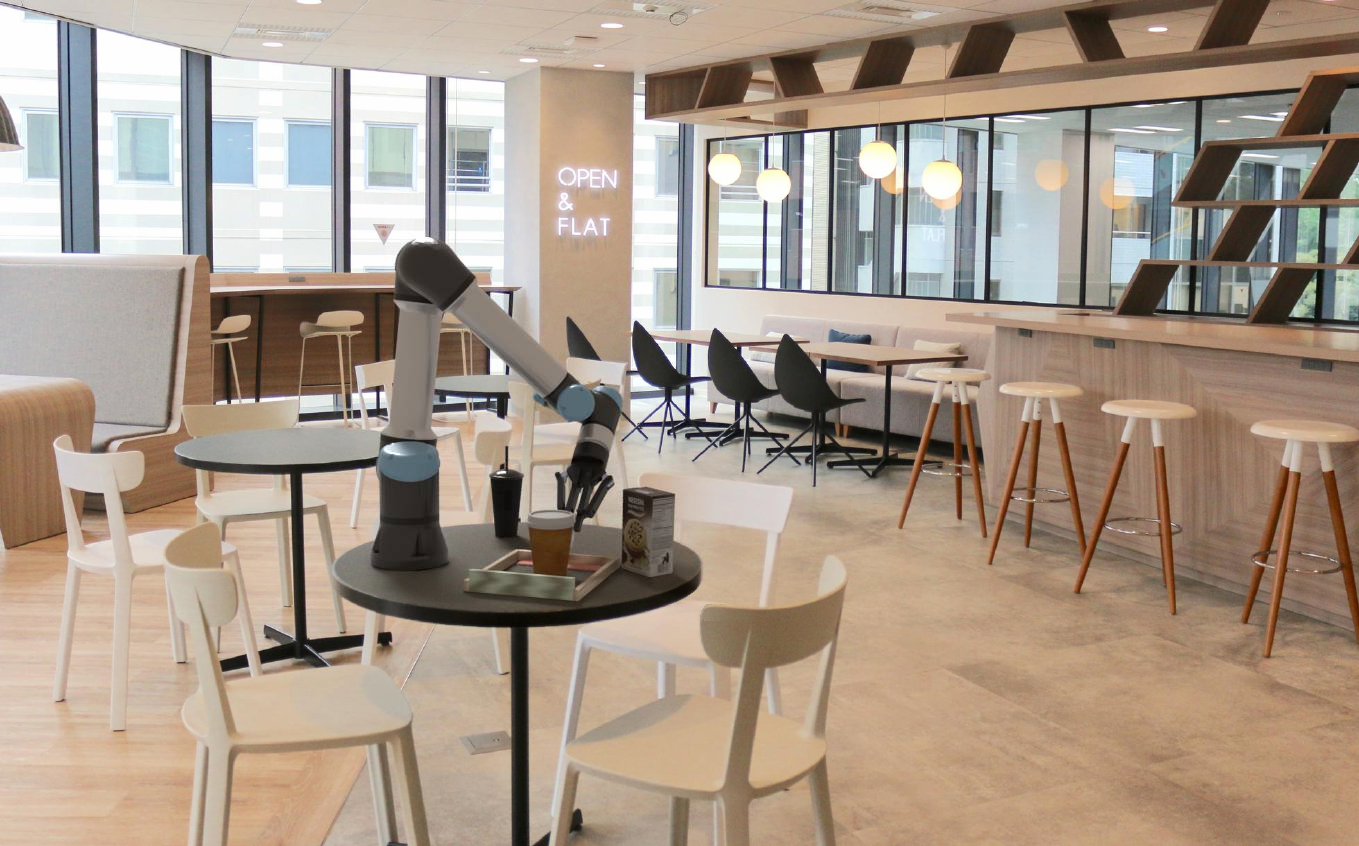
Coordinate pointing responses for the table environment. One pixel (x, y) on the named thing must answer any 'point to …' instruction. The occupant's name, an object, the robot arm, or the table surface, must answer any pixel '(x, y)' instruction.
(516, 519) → the drinking cup
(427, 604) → the table surface
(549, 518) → the disposable coffee cup
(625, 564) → the coffee box
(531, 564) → the mats
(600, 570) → the light wooden rectangular frame
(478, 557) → the table surface
